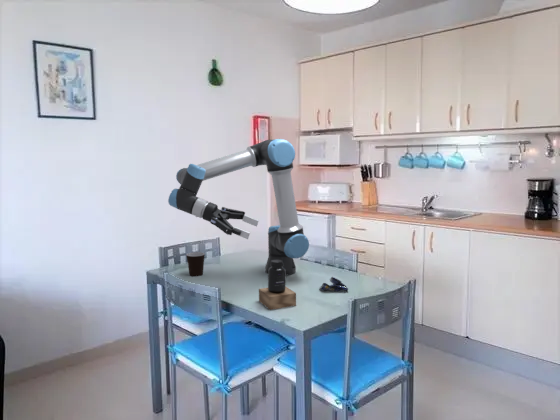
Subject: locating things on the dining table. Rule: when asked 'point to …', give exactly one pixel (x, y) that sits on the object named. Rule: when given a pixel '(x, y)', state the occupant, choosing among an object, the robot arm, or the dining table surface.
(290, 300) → the foundation block
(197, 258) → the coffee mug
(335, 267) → the dining table surface
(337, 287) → the dark blue angular piece
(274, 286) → the supplement bottle
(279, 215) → the robot arm
